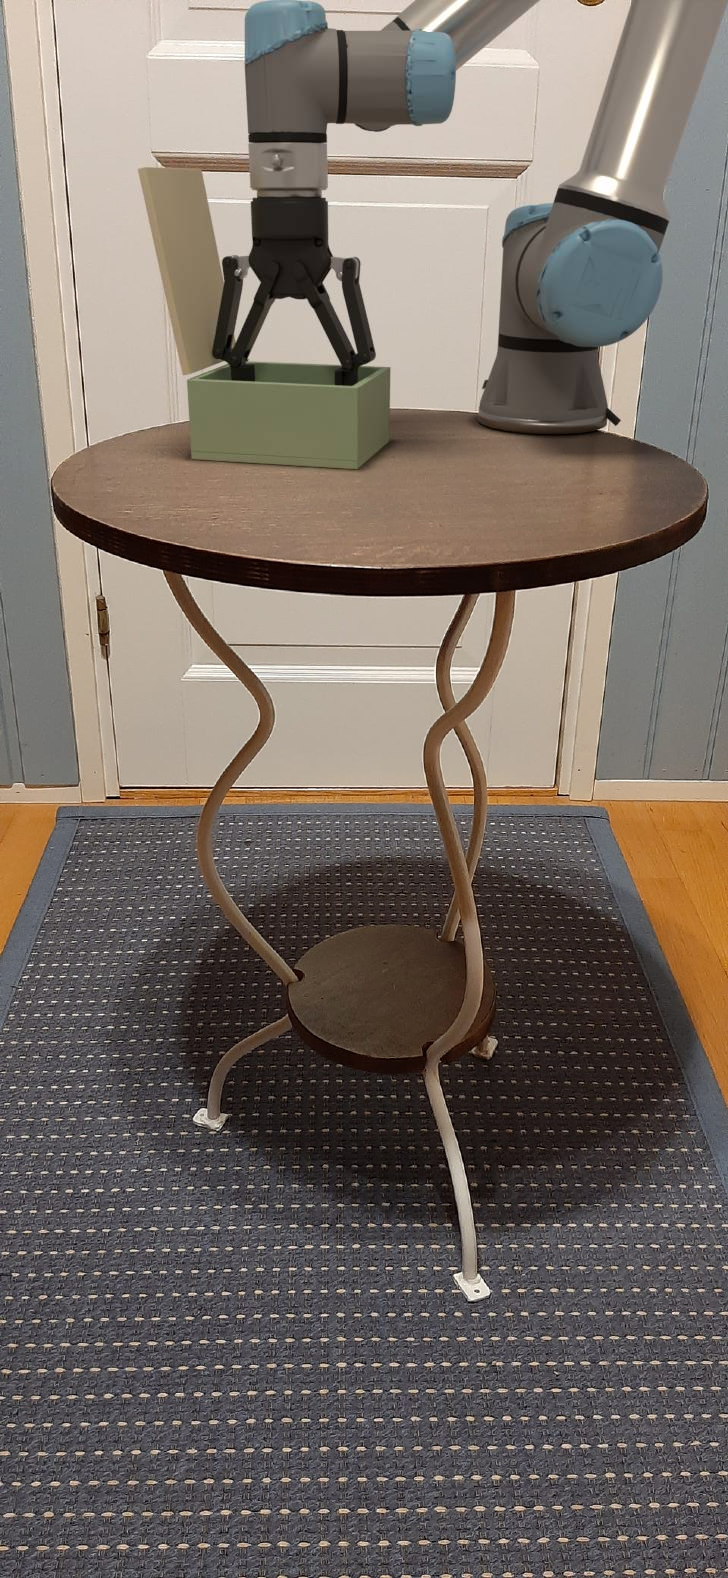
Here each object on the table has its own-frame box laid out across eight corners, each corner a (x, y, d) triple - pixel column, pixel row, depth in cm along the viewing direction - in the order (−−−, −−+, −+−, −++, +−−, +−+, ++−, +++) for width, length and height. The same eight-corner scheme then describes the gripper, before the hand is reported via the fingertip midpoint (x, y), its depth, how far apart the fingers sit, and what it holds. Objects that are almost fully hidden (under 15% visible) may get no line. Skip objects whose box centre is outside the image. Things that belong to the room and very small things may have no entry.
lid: (201, 168, 119) (194, 170, 119) (145, 166, 106) (137, 168, 107) (238, 355, 127) (231, 356, 127) (189, 374, 114) (182, 375, 114)
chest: (389, 441, 127) (390, 367, 123) (357, 469, 114) (357, 387, 111) (238, 433, 131) (235, 360, 127) (191, 459, 118) (186, 379, 114)
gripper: (167, 194, 110) (184, 434, 121) (392, 195, 106) (389, 444, 116) (195, 193, 117) (209, 421, 127) (409, 194, 112) (405, 430, 123)
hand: (295, 432), depth 122 cm, fingers closed on gaming controller, 9 cm apart
